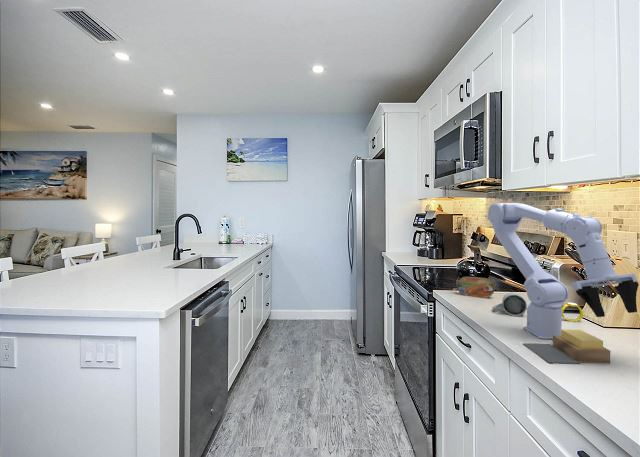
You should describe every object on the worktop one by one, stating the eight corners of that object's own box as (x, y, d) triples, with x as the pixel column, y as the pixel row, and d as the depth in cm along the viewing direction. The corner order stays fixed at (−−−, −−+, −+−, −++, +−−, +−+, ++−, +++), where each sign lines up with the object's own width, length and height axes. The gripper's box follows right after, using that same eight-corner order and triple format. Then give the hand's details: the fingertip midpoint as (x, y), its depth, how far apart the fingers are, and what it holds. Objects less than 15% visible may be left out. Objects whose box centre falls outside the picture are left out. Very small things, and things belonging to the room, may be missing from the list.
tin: (456, 294, 152) (456, 275, 152) (458, 293, 155) (458, 274, 154) (494, 299, 144) (494, 279, 143) (495, 297, 146) (495, 278, 146)
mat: (522, 344, 95) (522, 343, 95) (550, 344, 94) (550, 343, 94) (548, 363, 83) (548, 362, 83) (580, 364, 82) (580, 362, 82)
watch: (579, 320, 116) (581, 303, 115) (583, 323, 113) (585, 305, 113) (558, 318, 117) (560, 301, 117) (562, 320, 115) (564, 303, 114)
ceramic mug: (524, 311, 126) (524, 290, 126) (527, 317, 119) (527, 295, 118) (492, 308, 131) (492, 288, 130) (492, 314, 123) (492, 293, 123)
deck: (552, 346, 93) (552, 335, 93) (581, 346, 93) (581, 335, 93) (577, 362, 83) (577, 350, 83) (610, 362, 83) (610, 350, 83)
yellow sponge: (561, 336, 92) (561, 329, 92) (580, 337, 92) (580, 329, 92) (581, 348, 84) (581, 340, 84) (603, 349, 84) (603, 340, 84)
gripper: (576, 262, 85) (597, 317, 81) (636, 253, 85) (661, 309, 80) (560, 267, 92) (579, 319, 88) (616, 259, 91) (637, 311, 87)
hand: (616, 314), depth 85 cm, fingers open, 7 cm apart
